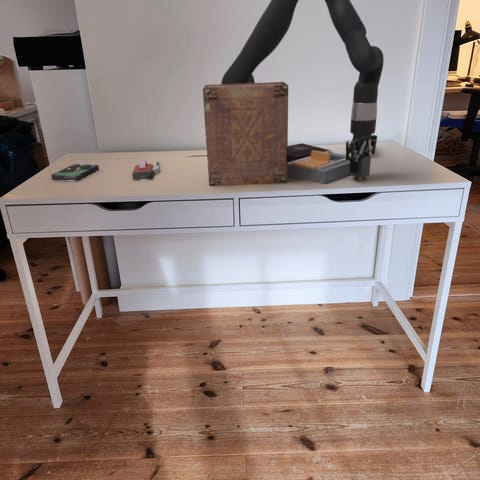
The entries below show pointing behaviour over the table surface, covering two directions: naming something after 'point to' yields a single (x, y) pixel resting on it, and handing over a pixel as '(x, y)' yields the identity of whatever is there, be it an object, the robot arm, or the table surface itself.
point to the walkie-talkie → (145, 171)
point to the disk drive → (75, 172)
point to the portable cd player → (301, 151)
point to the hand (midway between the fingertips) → (359, 170)
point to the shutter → (314, 160)
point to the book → (246, 133)
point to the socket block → (322, 169)
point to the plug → (362, 167)
